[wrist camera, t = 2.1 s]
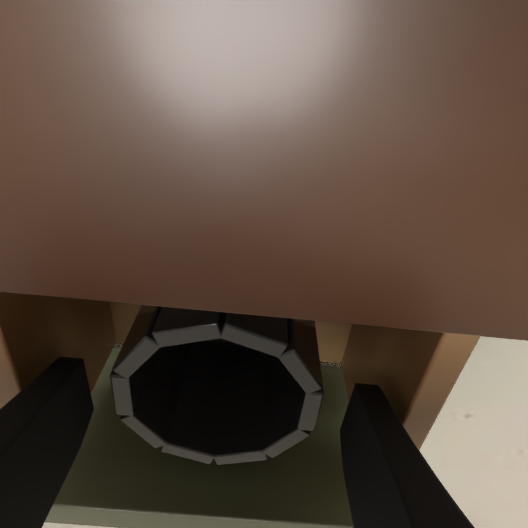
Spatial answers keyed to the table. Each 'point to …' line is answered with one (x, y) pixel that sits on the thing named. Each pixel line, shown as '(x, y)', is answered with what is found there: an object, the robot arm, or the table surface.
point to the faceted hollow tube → (218, 383)
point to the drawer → (212, 475)
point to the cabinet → (270, 158)
